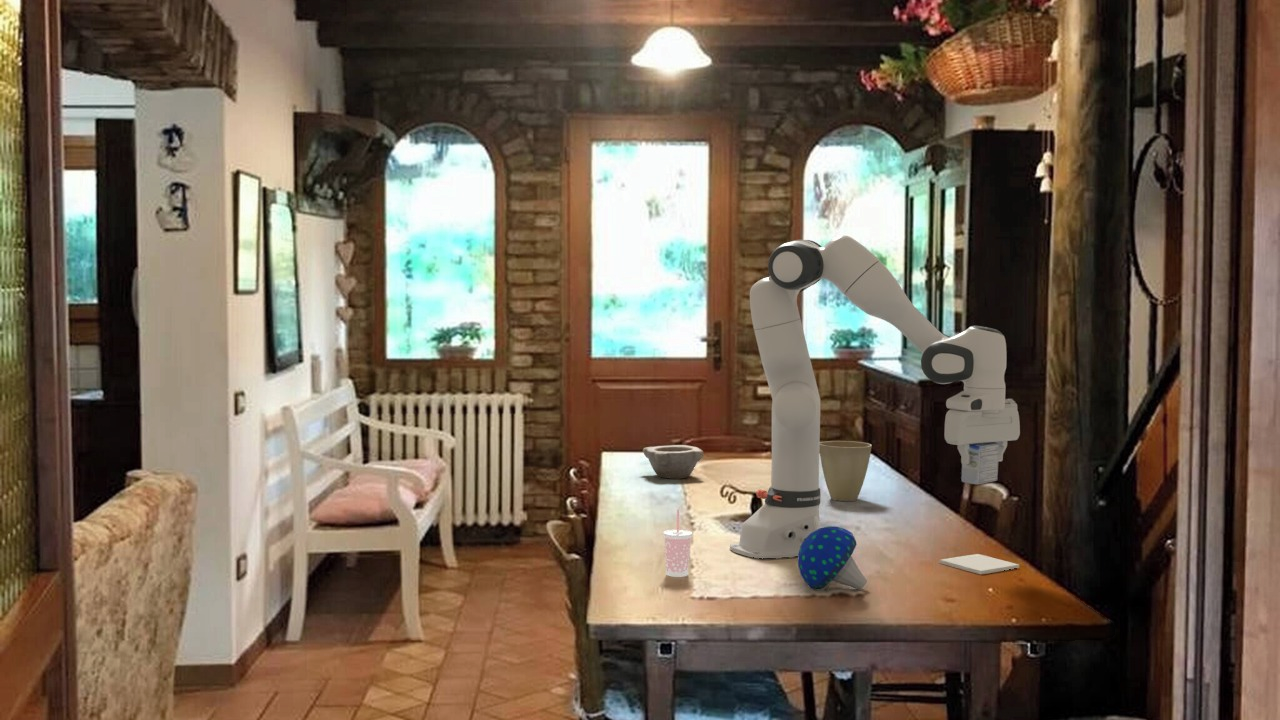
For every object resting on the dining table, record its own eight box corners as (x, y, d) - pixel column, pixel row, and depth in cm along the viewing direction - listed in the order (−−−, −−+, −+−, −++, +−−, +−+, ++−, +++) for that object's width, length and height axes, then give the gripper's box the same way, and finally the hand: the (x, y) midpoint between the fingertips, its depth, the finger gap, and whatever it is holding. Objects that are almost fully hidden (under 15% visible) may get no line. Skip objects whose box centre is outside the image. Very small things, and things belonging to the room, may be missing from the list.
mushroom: (891, 558, 245) (831, 511, 246) (849, 615, 243) (789, 568, 244) (876, 556, 259) (819, 512, 260) (836, 611, 257) (779, 566, 258)
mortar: (639, 473, 395) (640, 445, 394) (690, 471, 400) (690, 443, 399) (654, 482, 379) (655, 452, 378) (707, 480, 384) (707, 450, 383)
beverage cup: (662, 570, 266) (663, 506, 265) (691, 571, 265) (692, 506, 264) (662, 577, 260) (663, 511, 259) (691, 578, 259) (692, 512, 258)
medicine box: (980, 478, 277) (982, 440, 276) (998, 481, 274) (999, 442, 273) (960, 482, 272) (962, 443, 271) (978, 485, 268) (980, 445, 268)
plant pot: (881, 500, 352) (882, 445, 350) (843, 505, 343) (844, 448, 342) (844, 492, 364) (845, 439, 363) (806, 497, 356) (807, 442, 354)
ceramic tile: (980, 574, 265) (980, 570, 265) (939, 563, 276) (939, 559, 275) (1019, 568, 272) (1019, 564, 272) (977, 557, 282) (977, 553, 282)
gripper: (1005, 396, 279) (1003, 457, 280) (940, 400, 268) (938, 463, 269) (1027, 399, 274) (1025, 461, 275) (962, 403, 263) (960, 467, 264)
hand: (982, 462), depth 272 cm, fingers closed on medicine box, 8 cm apart
